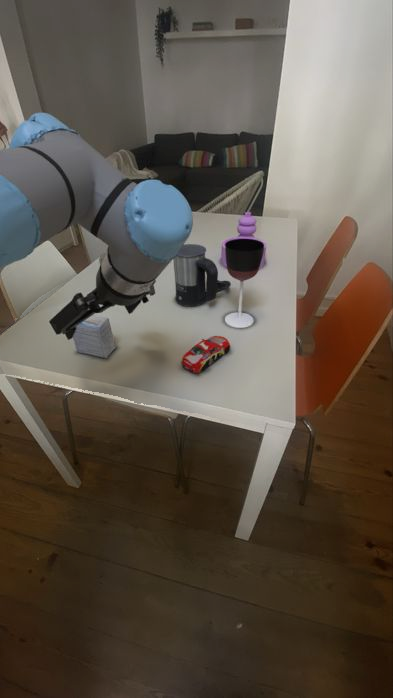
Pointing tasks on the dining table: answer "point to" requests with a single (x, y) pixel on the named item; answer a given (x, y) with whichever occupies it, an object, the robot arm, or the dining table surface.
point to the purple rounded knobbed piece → (244, 235)
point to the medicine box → (94, 337)
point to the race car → (205, 353)
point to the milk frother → (196, 276)
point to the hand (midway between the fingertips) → (98, 319)
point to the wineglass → (242, 272)
